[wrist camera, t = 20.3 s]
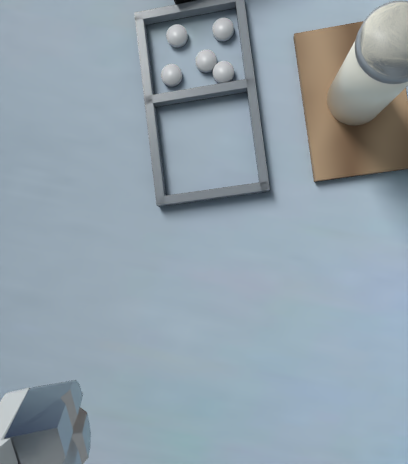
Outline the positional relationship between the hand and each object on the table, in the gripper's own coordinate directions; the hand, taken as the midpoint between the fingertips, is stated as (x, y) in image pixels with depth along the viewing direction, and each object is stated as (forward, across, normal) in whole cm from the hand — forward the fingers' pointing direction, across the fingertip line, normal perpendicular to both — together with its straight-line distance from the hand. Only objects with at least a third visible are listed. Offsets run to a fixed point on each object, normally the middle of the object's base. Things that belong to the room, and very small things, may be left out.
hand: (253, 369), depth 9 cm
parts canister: (+27, -17, -7) cm, 33 cm away
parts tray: (+31, -4, -8) cm, 32 cm away
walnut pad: (+28, -17, -6) cm, 33 cm away
